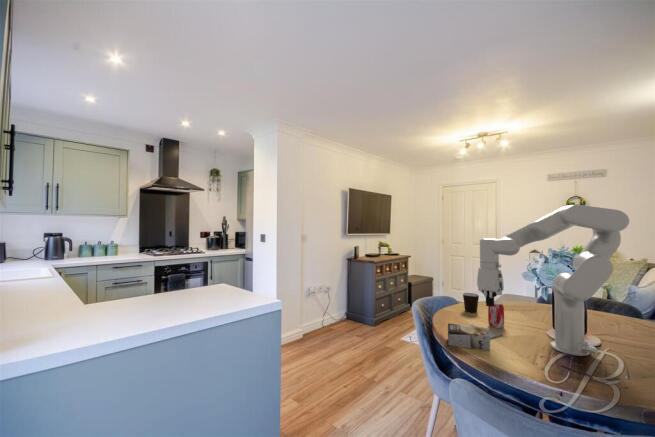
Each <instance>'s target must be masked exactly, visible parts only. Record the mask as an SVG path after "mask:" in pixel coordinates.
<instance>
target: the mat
mask: <svg viewBox="0 0 655 437" xmlns="http://www.w3.org/2000/svg"><path fill="white" fill-rule="evenodd" d="M467 326H476V327H479V326H477V325H474V324H469V325H467ZM488 332H489V335H490V340H492V339H495V338H499V337H501V336H502V334H501V333H498V332H495V331H492V330H489V329H488Z"/></svg>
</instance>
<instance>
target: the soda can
mask: <svg viewBox="0 0 655 437" xmlns="http://www.w3.org/2000/svg"><path fill="white" fill-rule="evenodd" d="M487 308H488V310H487V315H488V316H487V318H488V319H487V321H488V322H487V323H488V325H489V326H490V327H492V328H496V329H502V328H504V327H505V307H504V305H503V302H501V301H496V300H494V306H491V307H489V306H487Z"/></svg>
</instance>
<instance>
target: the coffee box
mask: <svg viewBox="0 0 655 437" xmlns="http://www.w3.org/2000/svg"><path fill="white" fill-rule="evenodd" d="M476 326H477V325H475V326H468V325H467V324H466V325H465V324H456V323H447V343H448V344H447V345H448V346H454V347H461V348H467V349H474V350H481V351H489V352H490V351H491V339H490V335H489V332H488V330H489V329H488V327H485V326H478V327H476Z"/></svg>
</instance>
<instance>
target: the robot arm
mask: <svg viewBox="0 0 655 437" xmlns="http://www.w3.org/2000/svg"><path fill="white" fill-rule="evenodd" d="M629 224H630V218H629V216H628V214H627V213H626V212H624V211H622V210H618V209H613V208H605V207H600V206H591V205H584V204H569V205H565V206H562V207H560V208H558V209H556V210H554V211H553V212H550V213H548V214H546V215H545V216H542V217H541V218H539V219H537V220H535V221H533V222H531V223H528V224H527V225H525V226H523V227H521V228H519V229H517V230H515V231H512V232H510V233H509V234H507V235H505V236H503V237H501V238H500V239H499V238H498V239H497V238H494V237H493V238H489V237H487V238H485V237H484V238H481V239H480V240H479V268H478V270H477V279H476V281H477V282H476V285H477V290H478V292H480V293H482V294H483V295H484V297H485V306H486V307H488V306H489V307H491V306H494V301H495V298H496V297H497V296H502V295H503V292H504V286H505V285H504V278H503V272H502V269H501V268H502V264H500V259H499V258H500V257H499V255H502V256H509V257H510V256H511V257H512V256H515V255H517V254H518V253H519V252H520V249H521V248H522V247H524V246H526V245H529V244H531V243H534V242H540V241H541V242H542V241H544V240H547V239H551V237H554V236H556V235H558V234H559V233H562V232H563V231H566V230H569V229H570V228H572V227H579V228H580V227H581V228H587V229H592V237H591V239H590V240H589V241H588V243H587V244H585V245H586V246H584V248H582V250H581V251H580V252H579V253H578V254H577V255H576V256H575V257H574V259H573V260H572V267H573V269H574V271H573V273H572V272H561V273H559V274H556V276H555V277H554V279H553V282H552V289H553V296H554V298H553V299H554V340H552V341H551V342H550V347H551V348H552V349H554V350H555V351H558V352H561V353H562V354H563V353H564V354H568V355H570V356H576V357H577V356H579V357H583V356H589V355H590V354H593V355H597V354H598V353H599V352H598V349H597V348H596V347H595V346H593V345H589V344H588V341H587V340H585V301H588V300H589V299H591V298H592V297H593V296H594V295H595V294H596V293H597V292H598V291H599V289H601V287H603V285H604V284H605V283H606V282H607V281H608V280H609V279H610V278H611V276H612V274H613V272H614V265H613V262H612V261H611V260H610V259H611V258H612V257H613V255H614V254H615V253H616V252H617V251H618V249H619V248H620V245H621V243H622V242H621V240H622V236H621V231H623V230H625V229H627V228H628V226H629Z"/></svg>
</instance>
